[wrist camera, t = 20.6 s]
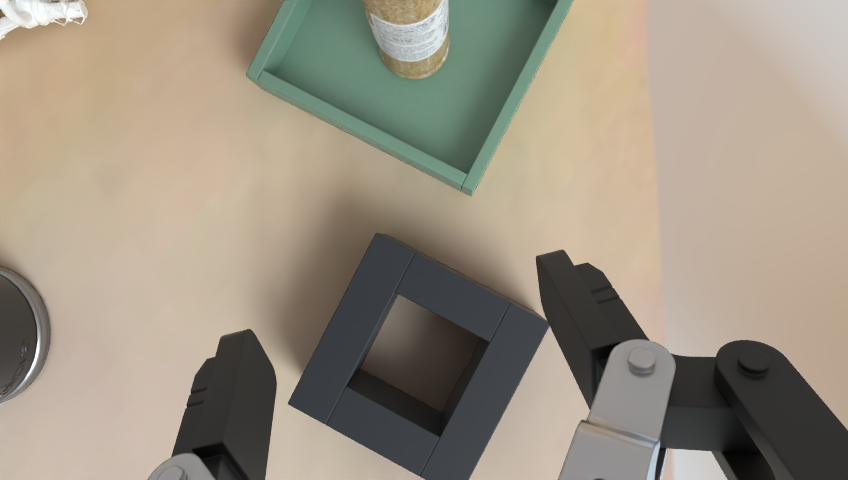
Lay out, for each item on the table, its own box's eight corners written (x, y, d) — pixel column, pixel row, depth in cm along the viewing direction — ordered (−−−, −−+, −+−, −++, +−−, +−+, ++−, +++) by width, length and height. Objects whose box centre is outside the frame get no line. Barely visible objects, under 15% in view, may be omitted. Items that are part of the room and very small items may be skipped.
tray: (261, 88, 35) (244, 75, 32) (355, -96, 35) (347, -126, 32) (471, 196, 34) (473, 192, 32) (569, 8, 34) (580, -14, 31)
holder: (308, 383, 35) (287, 404, 30) (386, 234, 35) (376, 232, 30) (458, 465, 34) (459, 498, 30) (538, 313, 34) (550, 323, 29)
